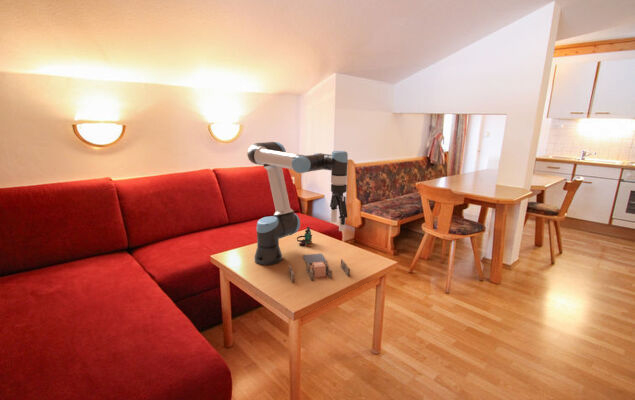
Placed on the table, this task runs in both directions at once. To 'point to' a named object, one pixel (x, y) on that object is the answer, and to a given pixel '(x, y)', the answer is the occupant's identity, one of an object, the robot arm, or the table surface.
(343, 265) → the bay rack
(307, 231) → the binoculars
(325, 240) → the table surface
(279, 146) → the robot arm
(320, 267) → the letter cube
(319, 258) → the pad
